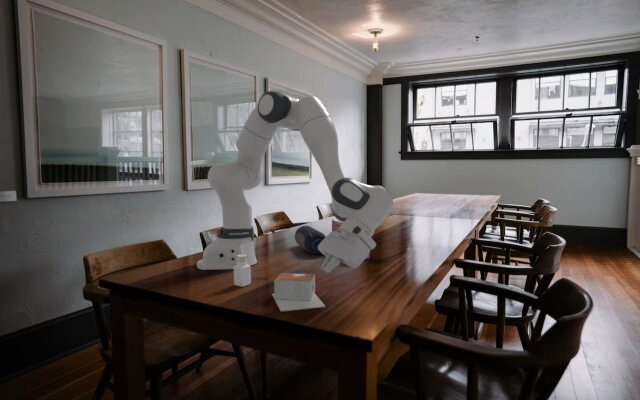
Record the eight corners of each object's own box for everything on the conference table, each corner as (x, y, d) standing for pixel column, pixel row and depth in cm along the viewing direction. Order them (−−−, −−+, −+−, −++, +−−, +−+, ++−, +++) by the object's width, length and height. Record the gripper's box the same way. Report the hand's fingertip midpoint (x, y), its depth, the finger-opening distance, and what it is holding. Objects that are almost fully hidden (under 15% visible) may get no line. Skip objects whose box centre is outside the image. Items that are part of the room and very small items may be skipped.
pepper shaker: (242, 287, 124) (241, 257, 124) (233, 285, 127) (232, 255, 126) (251, 284, 128) (250, 255, 127) (242, 282, 130) (241, 253, 129)
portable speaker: (292, 245, 189) (292, 224, 188) (313, 244, 192) (313, 223, 191) (307, 257, 165) (307, 233, 164) (330, 255, 168) (330, 232, 167)
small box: (311, 281, 110) (273, 280, 112) (311, 301, 111) (273, 299, 112) (315, 273, 118) (280, 272, 120) (315, 292, 119) (280, 290, 120)
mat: (280, 311, 104) (280, 310, 104) (272, 294, 117) (272, 293, 117) (325, 306, 107) (325, 305, 107) (311, 291, 120) (311, 290, 120)
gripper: (331, 222, 125) (302, 256, 122) (366, 231, 107) (333, 271, 104) (343, 235, 128) (315, 268, 124) (380, 246, 109) (348, 286, 106)
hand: (324, 270), depth 114 cm, fingers closed
